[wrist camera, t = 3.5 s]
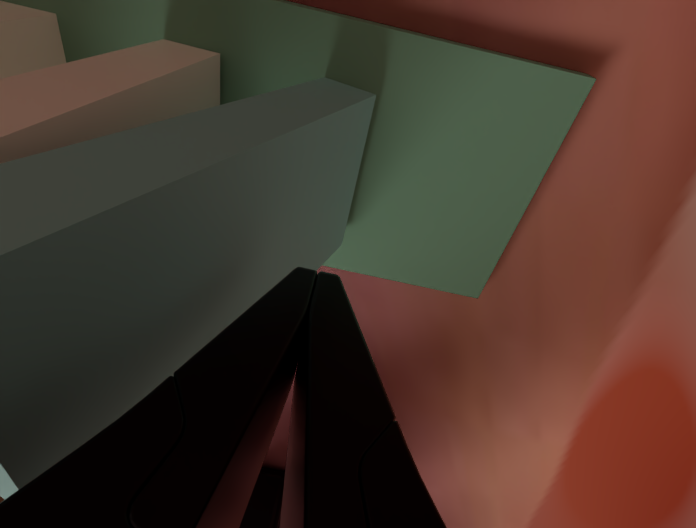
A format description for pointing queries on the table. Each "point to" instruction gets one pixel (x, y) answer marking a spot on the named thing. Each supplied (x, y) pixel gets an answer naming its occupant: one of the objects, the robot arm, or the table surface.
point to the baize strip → (379, 120)
